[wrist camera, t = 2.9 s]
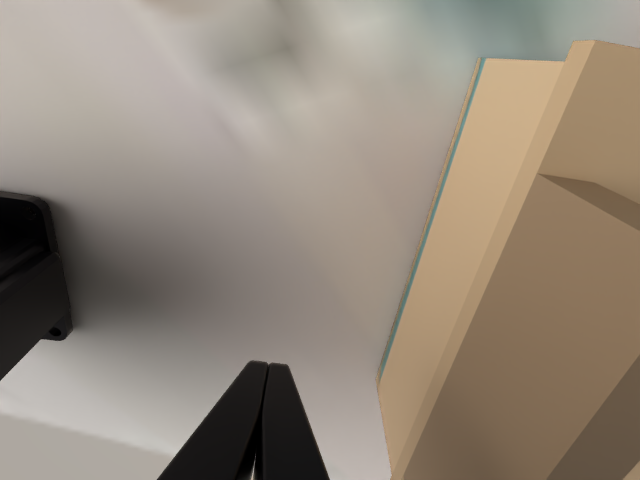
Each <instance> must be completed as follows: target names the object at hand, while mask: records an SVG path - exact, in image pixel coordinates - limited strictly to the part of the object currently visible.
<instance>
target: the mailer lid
mask: <svg viewBox="0 0 640 480" xmlns="http://www.w3.org/2000/svg"><path fill="white" fill-rule="evenodd" d="M390 480H640V48H634V47H629V46H624V45H619V44H613V43H608V42H603V41H598V40H585V41H573V43H572V46H571V48H570V50H569V53H568V55H567V57H566V60H565V62H564V65H563V67H562V69H561V72H560V74H559V77H558V79H557V81H556V84H555V86H554V89H553V91H552V93H551V96H550V98H549V101H548V103H547V105H546V108H545V110H544V113H543V115H542V117H541V120H540V122H539V124H538V127H537V129H536V132H535V134H534V136H533V139H532V141H531V144H530V146H529V148H528V151H527V153H526V156H525V158H524V160H523V163H522V165H521V168H520V170H519V172H518V175H517V177H516V180H515V182H514V184H513V187H512V189H511V191H510V194H509V196H508V199H507V201H506V203H505V206H504V208H503V211H502V213H501V215H500V218H499V220H498V223H497V225H496V227H495V230H494V232H493V235H492V237H491V239H490V242H489V244H488V246H487V249H486V251H485V254H484V256H483V258H482V261H481V263H480V266H479V268H478V270H477V273H476V275H475V278H474V280H473V282H472V285H471V287H470V290H469V292H468V294H467V297H466V299H465V302H464V304H463V306H462V309H461V311H460V313H459V316H458V318H457V321H456V323H455V325H454V328H453V330H452V333H451V335H450V337H449V340H448V342H447V345H446V347H445V349H444V352H443V354H442V357H441V359H440V361H439V364H438V366H437V369H436V371H435V373H434V376H433V378H432V380H431V383H430V385H429V388H428V390H427V392H426V395H425V397H424V400H423V402H422V404H421V407H420V409H419V412H418V414H417V416H416V419H415V421H414V424H413V426H412V428H411V431H410V433H409V436H408V438H407V440H406V443H405V445H404V447H403V450H402V452H401V455H400V457H399V459H398V462H397V464H396V467H395V469H394V471H393V474H392V476H391V479H390Z"/></svg>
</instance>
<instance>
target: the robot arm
mask: <svg viewBox="0 0 640 480" xmlns="http://www.w3.org/2000/svg"><path fill="white" fill-rule="evenodd" d="M29 207H30V208H32V209H33V210H34V211H35V213H36V215H35V214H33V213H32V212H31V211H30V209H29ZM72 330H73V325H72V320H71V314H70V304H69V299H68V294H67V288H66V283H65V278H64V273H63V268H62V262H61V259H60V257H59V252H58V247H57V242H56V237H55V232H54V226H53V221H52V216H51V211H50V208H49V206H48V205H47V204H46V203H45V201H43V200H42V199H40V198H38V197H35V196H29V195H22V194H15V193H8V192H0V381H1V380H2V378H3V377H4V376H5V375H6V374H7V373H8V372H9V371H10V370H11V369H12V368H13V367H14V366H15V365H16V364H17V363H18V362H19V361H20V360H21V359H22V358H23V357H24V356H25V355H26V354H27V353H28V352H29V351H30V350H31V349H32V348H33V347H34V346H35V344H36V343H37V342H38V341H39V340H40V339H47V340H55V341H62V340H64V339H66V337H67V336H68V335H69V334H70V333H71V332H72ZM268 367H269V368H268ZM255 456H256V457H255ZM254 462H255V465H254ZM253 468H254V475H253V480H330V479H329V476H328V473H327V470H326V468H325V465H324V462H323V459H322V456H321V454H320V451H319V448H318V445H317V443H316V440H315V437H314V434H313V432H312V429H311V426H310V423H309V421H308V418H307V415H306V412H305V410H304V407H303V404H302V401H301V398H300V396H299V393H298V390H297V387H296V385H295V382H294V379H293V376H292V374H291V371H290V368H289V366H288V365H286V364H280V363H270V364H269V365H268V363H267V362H262V361H254V360H252V361H250V362H248V363H247V365H246V366H245V367H244V369H243V370H242V371H241V372H240V374H239V375H238V376H237V378H236V379H235V380H234V381H233V383H232V384H231V385H230V387H229V388H228V389H227V390H226V392H225V393H224V394H223V395H222V397H221V398H220V399H219V401H218V402H217V403H216V404H215V406H214V407H213V408H212V410H211V411H210V412H209V413H208V415H207V416H206V417H205V419H204V420H203V421H202V422H201V424H200V425H199V426H198V428H197V429H196V430H195V431H194V433H193V434H192V435H191V436H190V438H189V439H188V440H187V442H186V443H185V444H184V445H183V447H182V448H181V449H180V451H179V452H178V453H177V454H176V456H175V457H174V458H173V460H172V461H171V462H170V463H169V465H168V466H167V467H166V469H165V470H164V471H163V472H162V474H161V475H160V476H159V478H158V479H157V480H251V477H252V473H253Z"/></svg>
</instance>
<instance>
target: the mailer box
mask: <svg viewBox="0 0 640 480" xmlns="http://www.w3.org/2000/svg"><path fill="white" fill-rule="evenodd" d="M563 65H564V62H561V61H538V60H516V59H493V58H478V61H477V64H476V67H475V70H474V73H473V76H472V80H471V83H470V86H469V89H468V92H467V95H466V98H465V102H464V105H463V108H462V111H461V114H460V117H459V120H458V123H457V127H456V130H455V133H454V136H453V139H452V142H451V145H450V148H449V152H448V155H447V158H446V161H445V164H444V167H443V170H442V174H441V177H440V180H439V183H438V186H437V189H436V192H435V195H434V199H433V202H432V205H431V208H430V211H429V214H428V217H427V220H426V224H425V227H424V230H423V233H422V236H421V239H420V242H419V246H418V249H417V252H416V255H415V258H414V261H413V264H412V267H411V271H410V274H409V277H408V280H407V283H406V286H405V289H404V292H403V296H402V299H401V302H400V305H399V308H398V311H397V314H396V318H395V321H394V324H393V327H392V330H391V333H390V336H389V339H388V343H387V346H386V349H385V352H384V355H383V358H382V361H381V364H380V368H379V371H378V374H377V377H376V384H377V390H378V396H379V402H380V408H381V414H382V419H383V425H384V431H385V437H386V443H387V449H388V455H389V461H390V467H391V473H392V474H393V471H394V469H395V467H396V464H397V462H398V459H399V457H400V455H401V452H402V450H403V447H404V445H405V443H406V440H407V438H408V436H409V433H410V431H411V428H412V426H413V424H414V421H415V419H416V416H417V414H418V412H419V409H420V407H421V404H422V402H423V400H424V397H425V395H426V392H427V390H428V388H429V385H430V383H431V380H432V378H433V376H434V373H435V371H436V369H437V366H438V364H439V361H440V359H441V357H442V354H443V352H444V349H445V347H446V345H447V342H448V340H449V337H450V335H451V333H452V330H453V328H454V325H455V323H456V321H457V318H458V316H459V313H460V311H461V309H462V306H463V304H464V302H465V299H466V297H467V294H468V292H469V290H470V287H471V285H472V282H473V280H474V278H475V275H476V273H477V270H478V268H479V266H480V263H481V261H482V258H483V256H484V254H485V251H486V249H487V246H488V244H489V242H490V239H491V237H492V235H493V232H494V230H495V227H496V225H497V223H498V220H499V218H500V215H501V213H502V211H503V208H504V206H505V203H506V201H507V199H508V196H509V194H510V191H511V189H512V187H513V184H514V182H515V180H516V177H517V175H518V172H519V170H520V168H521V165H522V163H523V160H524V158H525V156H526V153H527V151H528V148H529V146H530V144H531V141H532V139H533V136H534V134H535V132H536V129H537V127H538V124H539V122H540V120H541V117H542V115H543V113H544V110H545V108H546V105H547V103H548V101H549V98H550V96H551V93H552V91H553V89H554V86H555V84H556V81H557V79H558V77H559V74H560V72H561V69H562V67H563Z"/></svg>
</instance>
